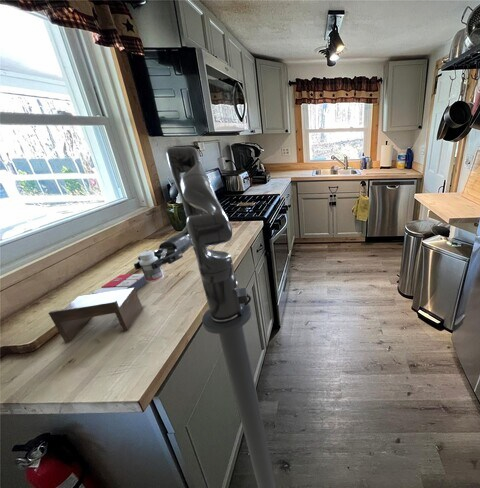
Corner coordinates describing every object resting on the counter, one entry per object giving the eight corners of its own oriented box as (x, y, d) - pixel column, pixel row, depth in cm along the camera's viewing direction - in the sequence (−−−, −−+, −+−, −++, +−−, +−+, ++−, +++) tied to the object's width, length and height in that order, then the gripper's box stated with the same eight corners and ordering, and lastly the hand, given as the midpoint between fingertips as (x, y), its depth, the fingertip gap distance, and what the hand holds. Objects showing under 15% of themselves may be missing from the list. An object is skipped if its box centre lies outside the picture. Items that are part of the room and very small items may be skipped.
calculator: (147, 272, 104) (120, 291, 90) (149, 281, 106) (124, 302, 92) (119, 273, 104) (88, 293, 90) (123, 283, 106) (93, 303, 92)
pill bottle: (148, 276, 90) (139, 251, 86) (165, 273, 91) (157, 248, 88) (144, 284, 85) (134, 257, 81) (162, 281, 87) (153, 254, 83)
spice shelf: (142, 307, 89) (132, 281, 85) (127, 330, 78) (115, 301, 74) (87, 316, 85) (74, 289, 81) (64, 342, 74) (48, 313, 70)
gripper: (155, 237, 98) (119, 256, 83) (191, 236, 97) (161, 256, 81) (161, 254, 101) (127, 277, 86) (196, 254, 100) (168, 277, 84)
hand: (144, 266), depth 84 cm, fingers closed on pill bottle, 5 cm apart
